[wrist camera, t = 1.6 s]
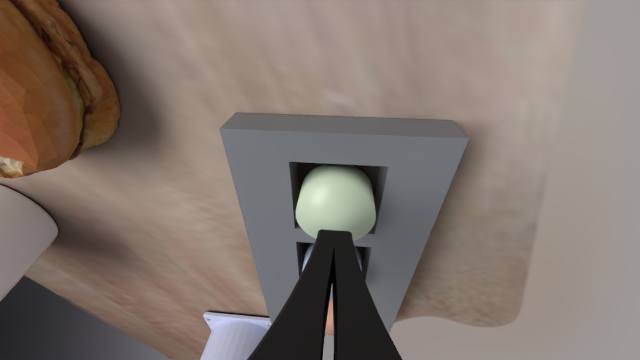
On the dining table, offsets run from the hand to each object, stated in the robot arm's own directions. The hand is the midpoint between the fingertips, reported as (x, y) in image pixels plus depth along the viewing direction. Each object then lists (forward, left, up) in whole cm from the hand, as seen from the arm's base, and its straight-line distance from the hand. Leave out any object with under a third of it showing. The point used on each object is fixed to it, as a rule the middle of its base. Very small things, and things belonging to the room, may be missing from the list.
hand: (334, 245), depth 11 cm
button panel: (-6, 0, -5) cm, 8 cm away
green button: (0, 0, -4) cm, 4 cm away
